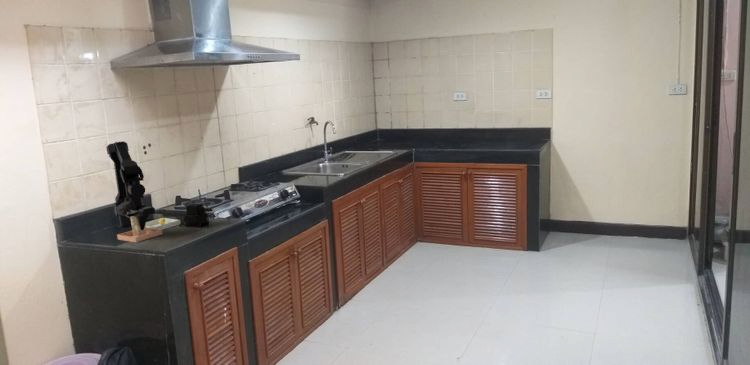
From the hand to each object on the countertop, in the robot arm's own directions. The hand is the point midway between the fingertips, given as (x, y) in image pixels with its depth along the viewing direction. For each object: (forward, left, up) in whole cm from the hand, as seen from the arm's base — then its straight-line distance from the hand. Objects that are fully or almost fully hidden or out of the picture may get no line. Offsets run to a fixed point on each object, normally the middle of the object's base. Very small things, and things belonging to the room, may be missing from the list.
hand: (139, 229), depth 257 cm
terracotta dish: (0, 0, -4) cm, 4 cm away
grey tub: (-7, +15, -4) cm, 17 cm away
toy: (+12, +23, -4) cm, 26 cm away
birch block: (0, 0, -2) cm, 2 cm away
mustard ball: (-9, +18, -3) cm, 20 cm away
